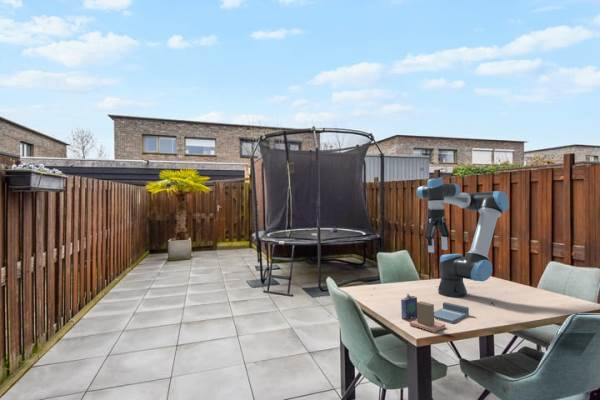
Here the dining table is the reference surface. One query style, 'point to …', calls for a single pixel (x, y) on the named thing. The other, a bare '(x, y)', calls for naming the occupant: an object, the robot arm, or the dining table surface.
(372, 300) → the dining table surface
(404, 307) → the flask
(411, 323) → the upright panel on base
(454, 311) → the blue tray
